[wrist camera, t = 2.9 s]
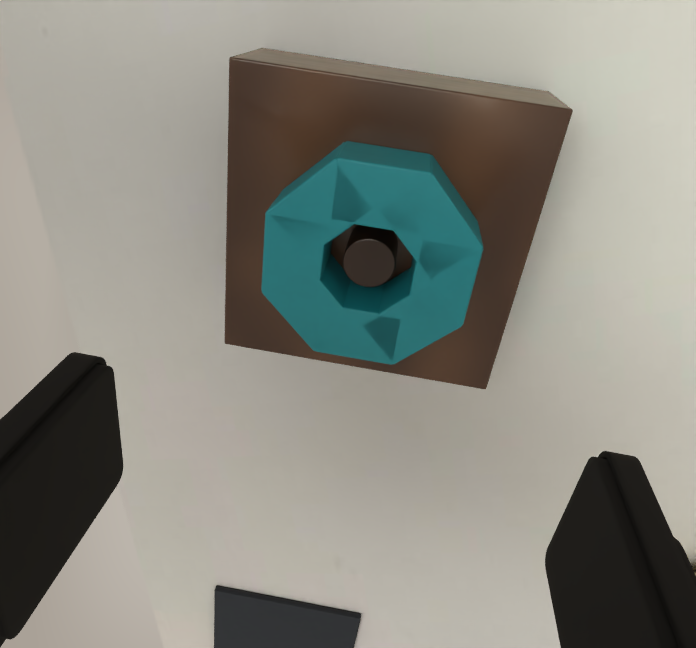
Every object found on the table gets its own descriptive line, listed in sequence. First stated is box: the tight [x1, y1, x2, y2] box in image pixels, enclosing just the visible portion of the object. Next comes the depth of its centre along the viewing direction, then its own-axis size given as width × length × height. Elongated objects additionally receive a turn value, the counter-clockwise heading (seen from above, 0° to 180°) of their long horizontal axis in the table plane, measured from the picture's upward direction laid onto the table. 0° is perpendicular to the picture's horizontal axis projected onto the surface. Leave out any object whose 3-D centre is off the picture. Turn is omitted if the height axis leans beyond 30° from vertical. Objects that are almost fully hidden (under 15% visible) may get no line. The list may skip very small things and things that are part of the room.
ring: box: [261, 141, 483, 365], centre depth 20 cm, size 7×7×2 cm
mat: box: [214, 586, 361, 648], centre depth 41 cm, size 10×10×1 cm
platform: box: [225, 48, 573, 389], centre depth 22 cm, size 11×11×6 cm
